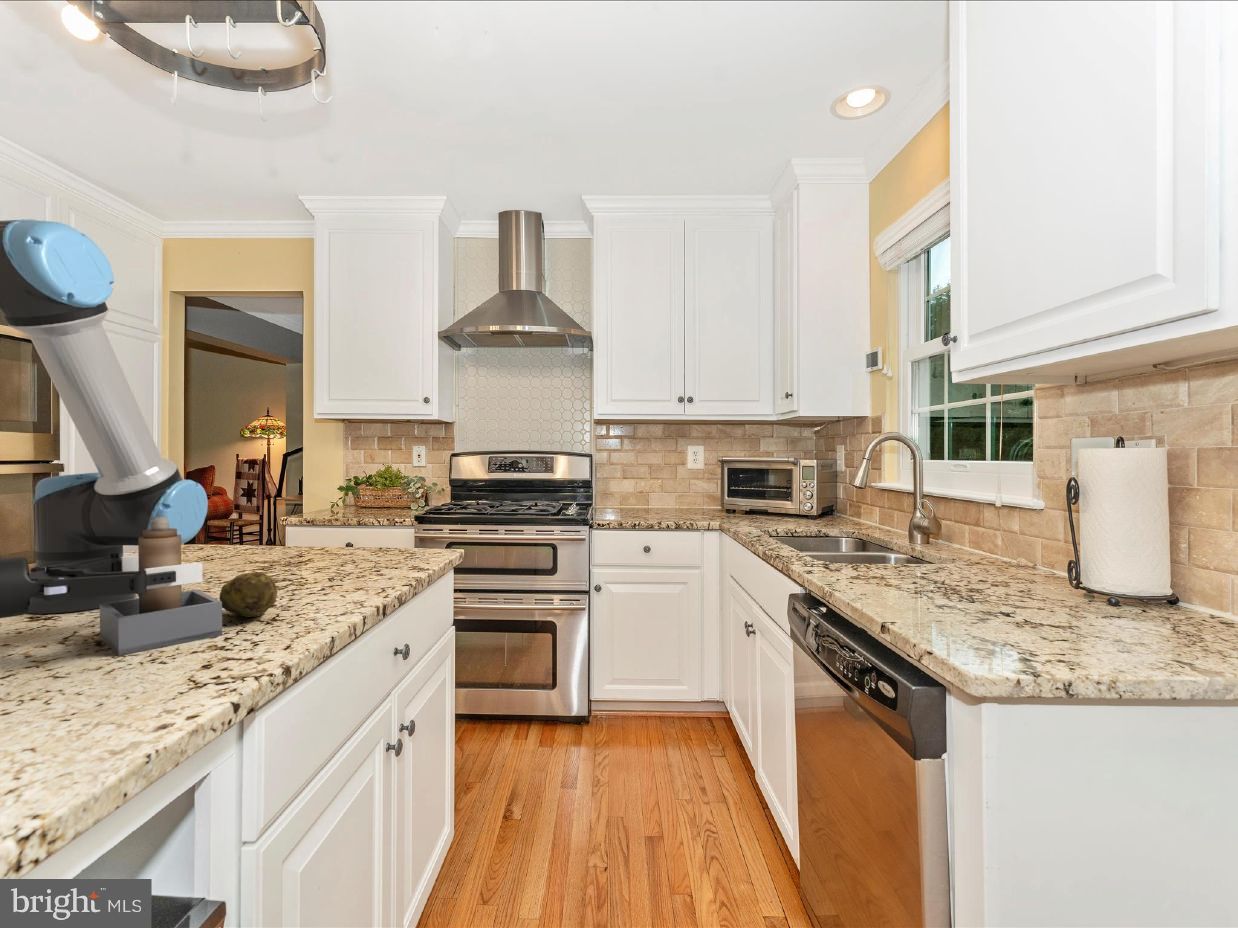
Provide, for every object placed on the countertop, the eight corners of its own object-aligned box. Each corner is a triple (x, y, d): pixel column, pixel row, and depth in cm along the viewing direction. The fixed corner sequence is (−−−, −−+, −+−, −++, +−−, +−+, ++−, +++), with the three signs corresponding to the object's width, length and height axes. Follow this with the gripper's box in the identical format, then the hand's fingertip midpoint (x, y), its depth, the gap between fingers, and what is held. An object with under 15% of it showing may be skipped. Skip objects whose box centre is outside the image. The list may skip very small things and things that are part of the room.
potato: (276, 606, 106) (276, 561, 105) (278, 624, 95) (277, 574, 94) (220, 612, 101) (219, 565, 101) (215, 632, 90) (214, 579, 90)
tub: (99, 637, 87) (99, 603, 87) (196, 620, 97) (196, 589, 96) (118, 655, 80) (118, 618, 80) (222, 634, 89) (221, 601, 89)
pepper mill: (135, 631, 88) (134, 517, 87) (176, 624, 91) (175, 514, 91) (144, 638, 84) (143, 519, 84) (186, 630, 88) (185, 517, 88)
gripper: (-25, 603, 82) (164, 578, 98) (-7, 640, 66) (214, 604, 82) (-26, 549, 82) (164, 533, 98) (-8, 573, 66) (214, 550, 82)
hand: (187, 565), depth 90 cm, fingers open, 13 cm apart
